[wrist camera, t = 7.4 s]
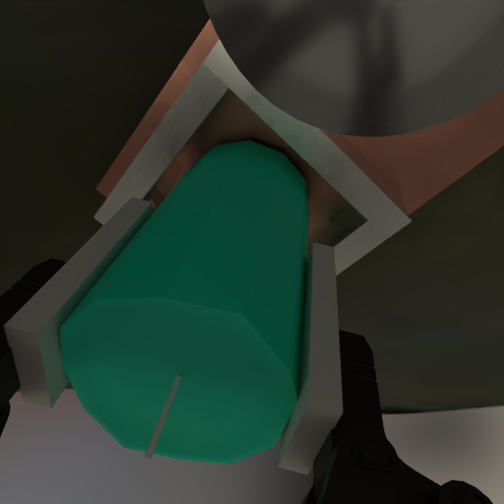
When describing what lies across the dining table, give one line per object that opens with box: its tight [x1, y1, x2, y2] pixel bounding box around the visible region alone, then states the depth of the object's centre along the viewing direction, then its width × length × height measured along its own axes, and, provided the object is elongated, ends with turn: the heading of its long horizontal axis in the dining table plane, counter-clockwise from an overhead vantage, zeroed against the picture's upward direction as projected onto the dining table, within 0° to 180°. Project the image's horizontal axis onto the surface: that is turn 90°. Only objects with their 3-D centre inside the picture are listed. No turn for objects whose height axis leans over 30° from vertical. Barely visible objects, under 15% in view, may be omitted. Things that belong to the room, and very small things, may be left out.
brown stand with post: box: [93, 0, 504, 275], centre depth 13 cm, size 12×16×14 cm
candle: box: [60, 140, 309, 464], centre depth 13 cm, size 6×6×12 cm
